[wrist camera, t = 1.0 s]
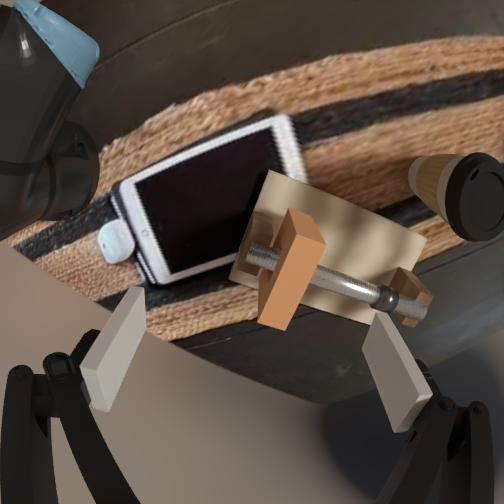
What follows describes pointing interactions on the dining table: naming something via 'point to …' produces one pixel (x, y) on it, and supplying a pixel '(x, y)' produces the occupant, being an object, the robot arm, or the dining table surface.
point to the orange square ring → (289, 269)
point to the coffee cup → (462, 192)
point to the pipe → (346, 285)
